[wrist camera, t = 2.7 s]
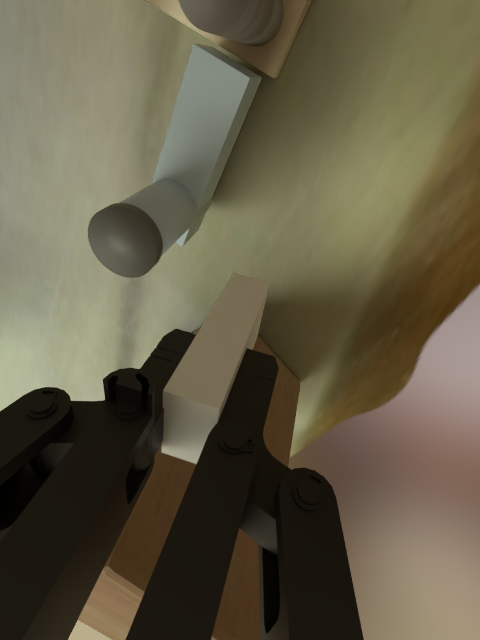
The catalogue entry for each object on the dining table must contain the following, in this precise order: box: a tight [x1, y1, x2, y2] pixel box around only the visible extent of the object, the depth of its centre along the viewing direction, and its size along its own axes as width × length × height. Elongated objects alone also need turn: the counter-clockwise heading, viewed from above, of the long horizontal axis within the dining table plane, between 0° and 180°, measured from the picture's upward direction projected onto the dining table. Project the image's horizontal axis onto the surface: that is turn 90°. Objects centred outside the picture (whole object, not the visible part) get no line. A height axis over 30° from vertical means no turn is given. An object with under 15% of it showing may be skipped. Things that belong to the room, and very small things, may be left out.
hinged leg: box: [88, 44, 262, 278], centre depth 18 cm, size 3×10×9 cm, turn 155°
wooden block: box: [78, 328, 300, 640], centre depth 26 cm, size 10×10×20 cm
